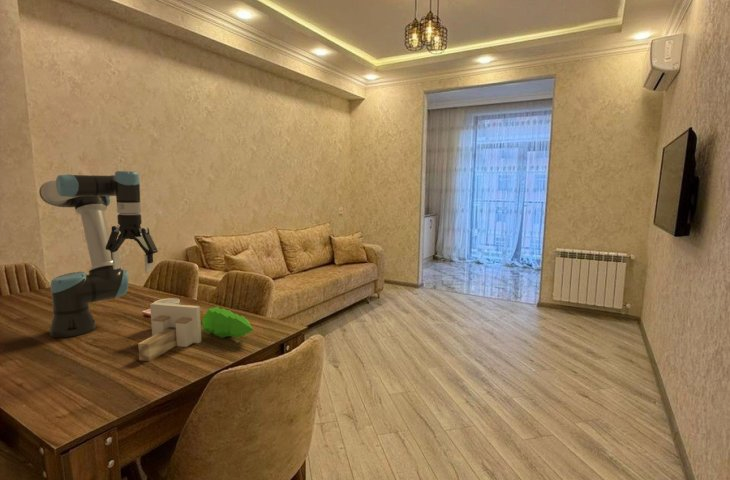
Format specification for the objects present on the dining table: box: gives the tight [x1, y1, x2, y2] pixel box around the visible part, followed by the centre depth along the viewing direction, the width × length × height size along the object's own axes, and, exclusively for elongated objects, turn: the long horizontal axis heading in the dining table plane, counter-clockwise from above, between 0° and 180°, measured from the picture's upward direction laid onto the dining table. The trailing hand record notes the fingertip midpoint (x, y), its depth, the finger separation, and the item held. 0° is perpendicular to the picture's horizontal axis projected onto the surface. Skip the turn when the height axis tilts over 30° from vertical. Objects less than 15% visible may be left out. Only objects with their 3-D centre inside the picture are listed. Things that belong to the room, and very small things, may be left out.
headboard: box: [149, 302, 202, 348], centre depth 151 cm, size 20×6×14 cm, turn 78°
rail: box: [137, 327, 177, 362], centre depth 143 cm, size 4×16×6 cm, turn 169°
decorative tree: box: [200, 306, 254, 339], centre depth 157 cm, size 11×12×30 cm
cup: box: [153, 297, 181, 305], centre depth 167 cm, size 10×10×11 cm
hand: (132, 270), depth 149 cm, fingers open, 13 cm apart
